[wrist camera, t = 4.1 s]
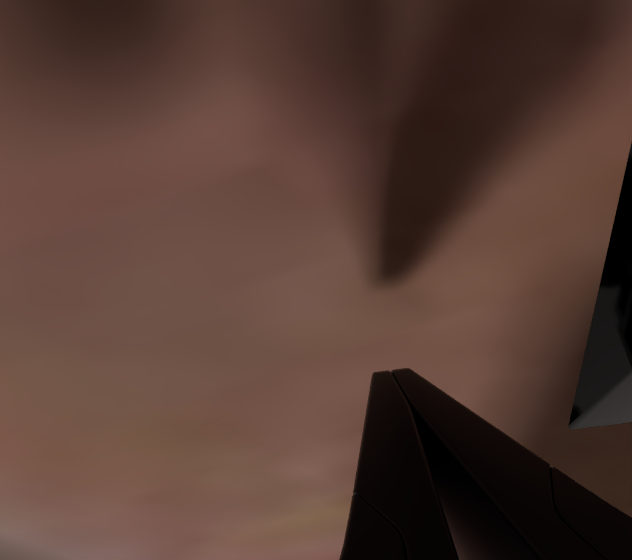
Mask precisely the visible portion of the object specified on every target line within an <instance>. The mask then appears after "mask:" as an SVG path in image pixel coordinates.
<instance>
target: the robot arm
mask: <svg viewBox="0 0 632 560" xmlns="http://www.w3.org/2000/svg"><path fill="white" fill-rule="evenodd" d="M339 560H632V518H631V517H630V516H628V515H626V514H625V513H623V512H622V511H620V510H618V509H617V508H615V507H613V506H612V505H610V504H609V503H607V502H606V501H604V500H603V499H601V498H600V497H598V496H597V495H595V494H593V493H592V492H590V491H589V490H587V489H586V488H584V487H583V486H581V485H580V484H578V483H577V482H575V481H574V480H572V479H571V478H569V477H568V476H566V475H565V474H564V473H562V472H561V471H559V470H558V469H556V468H555V467H551V468H550V465H549V464H548V463H547V462H546V461H544V460H543V459H541V458H540V457H538V456H537V455H535V454H534V453H533V452H531V451H530V450H528V449H527V448H525V447H524V446H522V445H521V444H519V443H518V442H516V441H515V440H513V439H512V438H511V437H509V436H508V435H506V434H505V433H503V432H502V431H500V430H499V429H497V428H496V427H494V426H493V425H492V424H490V423H489V422H487V421H486V420H484V419H483V418H481V417H480V416H478V415H477V414H475V413H474V412H473V411H471V410H470V409H468V408H467V407H465V406H464V405H462V404H461V403H459V402H458V401H456V400H455V399H454V398H452V397H451V396H449V395H448V394H446V393H445V392H443V391H442V390H440V389H439V388H437V387H436V386H435V385H433V384H432V383H430V382H429V381H427V380H426V379H424V378H423V377H421V376H420V375H418V374H417V373H415V372H414V371H413V370H411V369H409V368H403V369H396V370H392V371H391V372H390V371H380V372H374V373H373V374H372V379H371V385H370V391H369V397H368V403H367V410H366V416H365V422H364V428H363V434H362V441H361V447H360V453H359V459H358V465H357V472H356V478H355V484H354V490H353V496H352V501H351V507H350V513H349V519H348V524H347V529H346V534H345V539H344V544H343V548H342V552H341V555H340V559H339Z"/></svg>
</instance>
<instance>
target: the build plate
mask: <svg viewBox="0 0 632 560" xmlns="http://www.w3.org/2000/svg"><path fill="white" fill-rule="evenodd" d="M629 422H632V143H631V148H630V152H629V157H628V161H627V166H626V170H625V175H624V179H623V184H622V188H621V193H620V197H619V202H618V206H617V211H616V215H615V220H614V224H613V229H612V233H611V238H610V242H609V247H608V251H607V256H606V260H605V264H604V269H603V273H602V278H601V282H600V287H599V291H598V296H597V300H596V305H595V309H594V314H593V318H592V323H591V327H590V332H589V336H588V341H587V345H586V350H585V354H584V359H583V363H582V368H581V372H580V377H579V381H578V386H577V390H576V395H575V399H574V404H573V408H572V413H571V417H570V422H569V428H570V429H580V428H589V427H597V426H605V425H613V424H621V423H629Z"/></svg>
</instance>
